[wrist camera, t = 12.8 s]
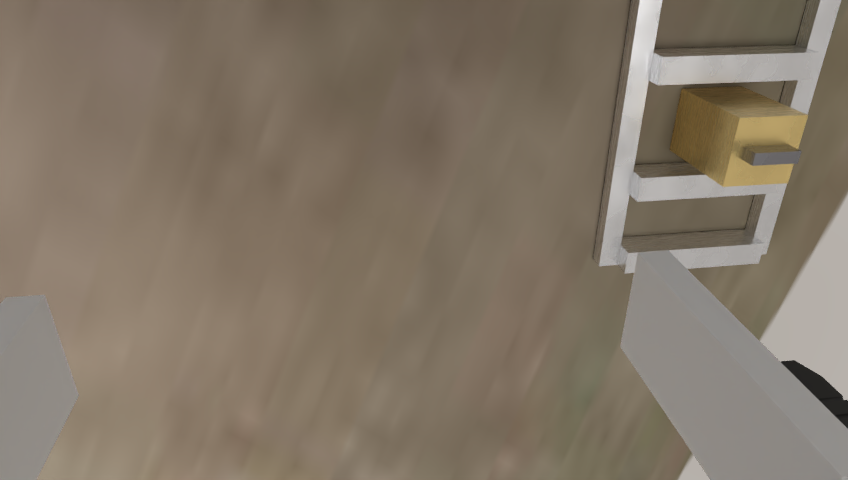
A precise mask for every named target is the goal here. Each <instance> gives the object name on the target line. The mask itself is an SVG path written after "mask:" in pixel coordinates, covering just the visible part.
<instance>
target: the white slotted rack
mask: <svg viewBox="0 0 848 480" xmlns="http://www.w3.org/2000/svg"><path fill="white" fill-rule="evenodd" d="M840 2H841V0H807V3H806V7H805V11H804V15H803V18H802V22H801V26H800V29H799V33H798V37H797V40H796V44H795V45H778V46H743V47H707V48H672V49H654V46H655V40H656V34H657V28H658V23H659V17H660V11H661V5H662V0H631V5H630V12H629V19H628V25H627V32H626V39H625V46H624V53H623V59H622V66H621V73H620V80H619V87H618V93H617V100H616V107H615V114H614V120H613V127H612V134H611V141H610V148H609V154H608V161H607V168H606V175H605V181H604V188H603V195H602V202H601V209H600V215H599V222H598V229H597V236H596V243H595V249H594V256H593V259H594V260H595V262H596V263H597V264H598V265H599V266H607V265H618V266H619V267H620V268H621V270H622V271H623V272H624V273H634V271H635V265H636V260H637V255H638V253H642V252H656V251H669V252H670V253H671V254H672V255H673V256H674V257H675V258H676V259H677V260H678V261H679V262H680V263H681V264H682V265H683V266H684V267H685V268H686V269H689V268H702V267H716V266H729V265H743V264H756V263H759V261H760V257H761V254H766V253H767V249H768V246H769V243H770V239H771V236H772V232H773V229H774V226H775V222H776V219H777V216H778V212H779V209H780V205H781V202H782V199H783V195H784V192H785V188H786V185H787V183H784V184H766V185H749V186H731V187H722V186H721V185H719V184H718V183H717V182H715V181H714V180H712V179H711V178H709V177H708V176H706V175H705V174H704V173H702V172H701V171H699V170H698V169H696V168H695V167H694V166H692V165H691V164H689V163H688V162H680V163H661V164H642V165H634V164H635V158H636V152H637V147H638V141H639V135H640V129H641V123H642V117H643V111H644V105H645V99H646V93H647V88H648V82H649V81H651V82H653V83H655V84H656V85H678V84H706V83H734V82H762V81H785V84H784V88H783V92H782V95H781V99H780V103H781V104H783V105H786V106H788V107H791V108H793V109H795V110H798V111H800V112H802V113H805V114H808V111H809V107H810V104H811V101H812V97H813V94H814V90H815V87H816V84H817V80H818V77H819V73H820V70H821V67H822V63H823V60H824V57H825V53H826V50H827V46H828V43H829V40H830V36H831V33H832V29H833V26H834V23H835V19H836V16H837V13H838V9H839V6H840ZM629 194H630V195H631V196H632V197H633V198H634V199H635V200H636V201H637V202H640V201H657V200H673V199H690V198H707V197H723V196H740V195H754V198H753V202H752V206H751V209H750V213H749V217H748V221H747V224H746V228H745V229H736V230H721V231H706V232H691V233H676V234H661V235H647V236H632V237H622V235H623V229H624V223H625V217H626V212H627V206H628V200H629Z"/></svg>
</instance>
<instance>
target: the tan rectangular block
mask: <svg viewBox="0 0 848 480" xmlns="http://www.w3.org/2000/svg"><path fill="white" fill-rule="evenodd" d="M807 117H808V115H807V114H805V113H802V112H800V111H798V110H795V109H793V108H791V107H788V106H786V105H783V104H781V103H779V102H776V101H774V100H772V99H769V98H767V97H765V96H762V95H760V94H758V93H755V92H753V91H751V90H748V89H746V88H744V87H713V88H684V89H681V94H680V99H679V104H678V110H677V115H676V120H675V125H674V130H673V135H672V140H671V145H670V150H671V151H672V152H674V153H675V154H676V155H678V156H679V157H681V158H682V159H684V160H685V161H686V162H688V163H689V164H691V165H692V166H694V167H695V168H696V169H698V170H699V171H701V172H702V173H704V174H705V175H706V176H708V177H709V178H711V179H712V180H714V181H715V182H717V183H718V184H719V185H721V186H722V187H731V186H749V185H766V184H784V183H788V181H789V178H790V174H791V171H792V168H793V164H797V163H798V161H799V158H800V154H801V151H800V150H798V148H799V144H800V141H801V137H802V134H803V131H804V127H805V124H806V121H807Z"/></svg>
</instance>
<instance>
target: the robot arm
mask: <svg viewBox="0 0 848 480" xmlns="http://www.w3.org/2000/svg"><path fill="white" fill-rule="evenodd" d="M620 347H621V348H622V350H623V351H624V353H625V354H626V356H627V357H628V359H629V360H630V362H631V363H632V365H633V366H634V367H635V369H636V370H637V372H638V373H639V375H640V376H641V378H642V379H643V381H644V382H645V384H646V385H647V387H648V388H649V390H650V391H651V393H652V394H653V396H654V397H655V399H656V400H657V401H658V403H659V404H660V406H661V407H662V409H663V410H664V412H665V413H666V415H667V416H668V418H669V419H670V421H671V422H672V424H673V425H674V427H675V428H676V430H677V431H678V433H679V434H680V435H681V437H682V438H683V440H684V441H685V443H686V444H687V446H688V447H689V449H690V450H691V452H692V453H693V455H694V456H695V458H696V459H697V461H698V462H699V463H700V465H701V466H702V468H703V469H704V471H705V472H706V474H707V475H708V477H709V478H710V480H848V401H847V400H843V398H842V397H843V396H842V395H841V394H840V393H839V392H838V391H836V389H834V388H833V387H832V386H831V385H830V384H829V383H828V382H827V381H826V380H825V379H824V378H823V377H821V376H820V375H818V374H817V373H815V372H813V371H812V370H810V369H808V368H806V367H804V366H803V365H801V364H800V363H798V362H796V361H794V360H793V361H782V362H780V361H779V360H778V359H777V358H776V357H775V356H774V355H773V354H772V353H771V352H770V351H769V350H768V349H767V348H766V347H765V346H764V345H763V344H762V343H761V342H760V341H759V340H758V339H757V338H756V337H755V336H754V335H753V334H752V333H751V332H750V331H749V330H748V329H747V328H746V327H745V326H744V325H743V324H742V323H741V322H740V321H739V320H738V319H737V318H736V317H735V316H734V315H733V314H732V313H731V312H730V311H729V310H728V309H727V308H726V307H725V306H724V305H723V304H722V303H721V302H720V301H719V300H718V299H717V298H716V297H715V296H714V295H713V294H712V293H711V292H710V291H709V290H708V289H707V288H706V287H705V286H703V285H702V284H701V283H700V282H699V281H698V280H697V279H696V278H695V277H694V276H693V275H692V274H691V273H690V272H689V271H688V270H687V269H686V268H685V267H684V266H683V265H682V264H681V263H680V262H679V261H678V260H677V259H676V258H675V257H674V256H673V255H672V254H671V253H670V252H669V251H656V252H642V253H638V255H637V260H636V265H635V271H634V276H633V282H632V287H631V292H630V298H629V303H628V309H627V314H626V319H625V325H624V330H623V336H622V341H621V346H620ZM78 396H79V395H78V392H77V389H76V386H75V383H74V380H73V377H72V374H71V371H70V368H69V365H68V362H67V359H66V356H65V353H64V350H63V347H62V344H61V341H60V338H59V335H58V332H57V329H56V326H55V323H54V320H53V317H52V314H51V311H50V308H49V305H48V303H47V300H46V297H45V295H35V296H20V297H6V298H5V299H4V300H3V301H2V303H1V304H0V480H36V479H37V477H38V475H39V473H40V471H41V469H42V468H43V466H44V464H45V462H46V460H47V458H48V456H49V454H50V452H51V450H52V448H53V446H54V444H55V442H56V440H57V438H58V436H59V434H60V432H61V430H62V428H63V426H64V424H65V422H66V420H67V418H68V416H69V414H70V412H71V410H72V408H73V406H74V404H75V402H76V400H77V398H78Z"/></svg>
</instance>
